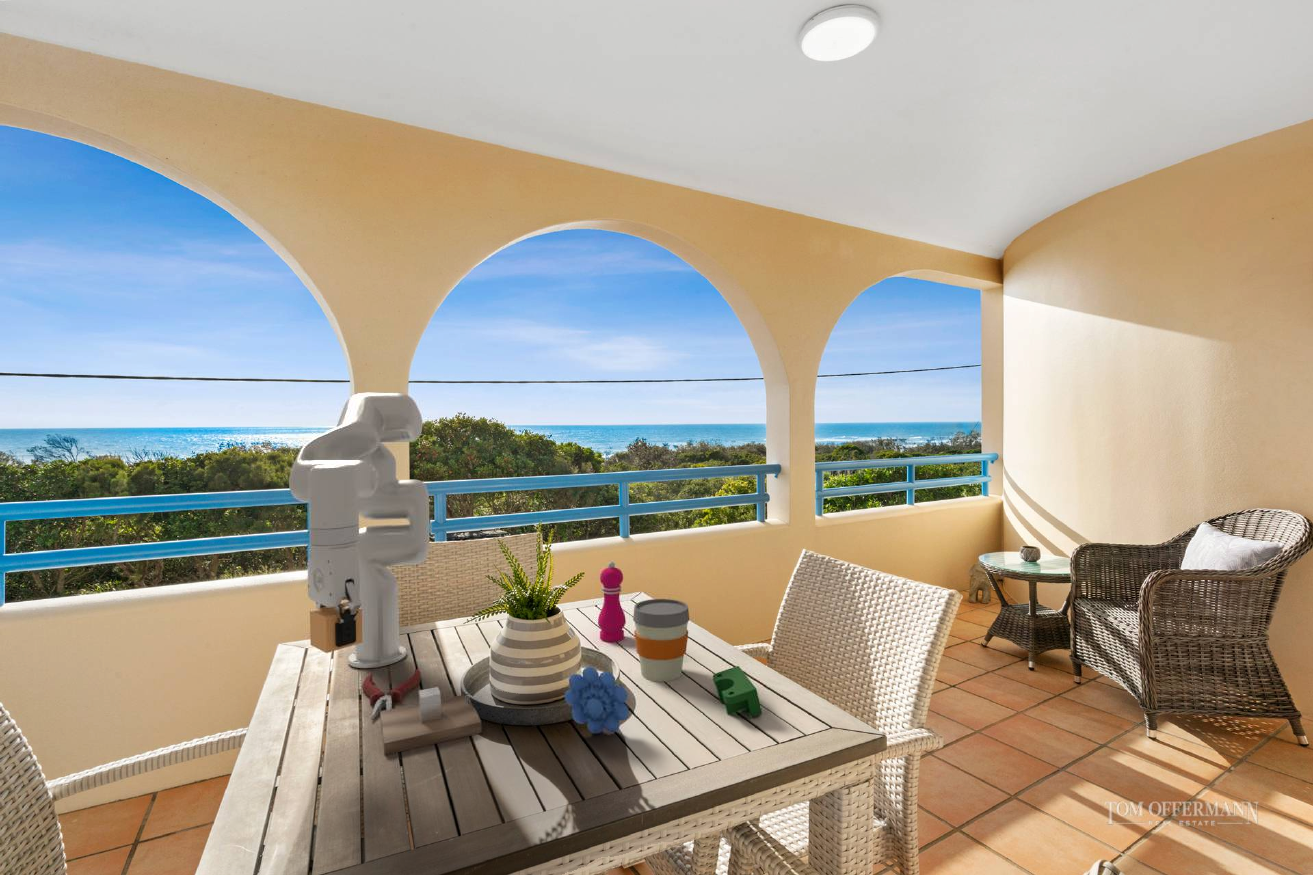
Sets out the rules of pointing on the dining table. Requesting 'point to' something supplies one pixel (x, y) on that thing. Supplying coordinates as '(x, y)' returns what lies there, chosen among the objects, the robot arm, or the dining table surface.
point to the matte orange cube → (329, 628)
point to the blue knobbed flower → (597, 700)
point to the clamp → (737, 691)
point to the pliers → (392, 696)
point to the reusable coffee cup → (661, 637)
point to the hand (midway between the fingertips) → (336, 638)
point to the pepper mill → (611, 605)
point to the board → (428, 722)
